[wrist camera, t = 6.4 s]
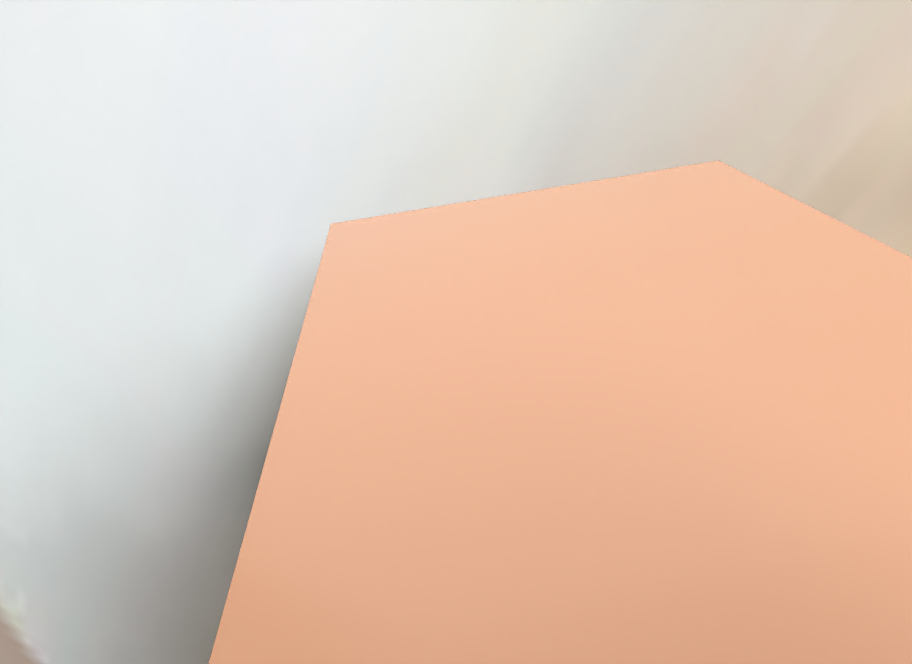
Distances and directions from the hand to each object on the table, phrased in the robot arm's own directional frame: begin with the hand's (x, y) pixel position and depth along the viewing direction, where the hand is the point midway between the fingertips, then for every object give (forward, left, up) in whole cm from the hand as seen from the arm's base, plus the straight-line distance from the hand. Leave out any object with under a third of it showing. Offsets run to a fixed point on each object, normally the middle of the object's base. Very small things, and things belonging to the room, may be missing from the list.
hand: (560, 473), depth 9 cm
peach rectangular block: (0, 0, -2) cm, 2 cm away
